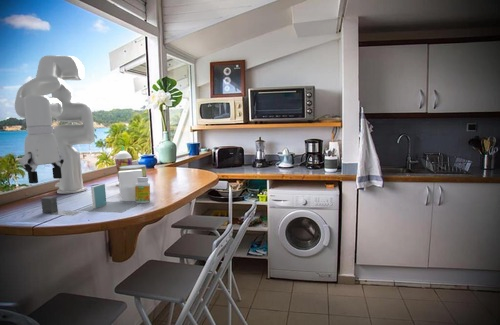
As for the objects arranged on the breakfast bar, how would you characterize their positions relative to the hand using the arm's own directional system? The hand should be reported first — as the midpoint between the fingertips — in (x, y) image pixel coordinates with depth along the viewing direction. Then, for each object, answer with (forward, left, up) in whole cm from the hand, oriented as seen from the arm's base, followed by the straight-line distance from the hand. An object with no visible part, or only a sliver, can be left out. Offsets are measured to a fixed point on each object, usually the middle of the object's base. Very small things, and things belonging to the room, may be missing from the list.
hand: (46, 180), depth 111 cm
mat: (+18, +10, -12) cm, 24 cm away
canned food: (+11, +35, -12) cm, 39 cm away
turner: (+5, 0, -12) cm, 13 cm away
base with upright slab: (+18, +23, -12) cm, 31 cm away
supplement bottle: (+26, +18, -12) cm, 33 cm away
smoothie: (-8, +55, -12) cm, 57 cm away
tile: (+13, +10, -12) cm, 20 cm away
